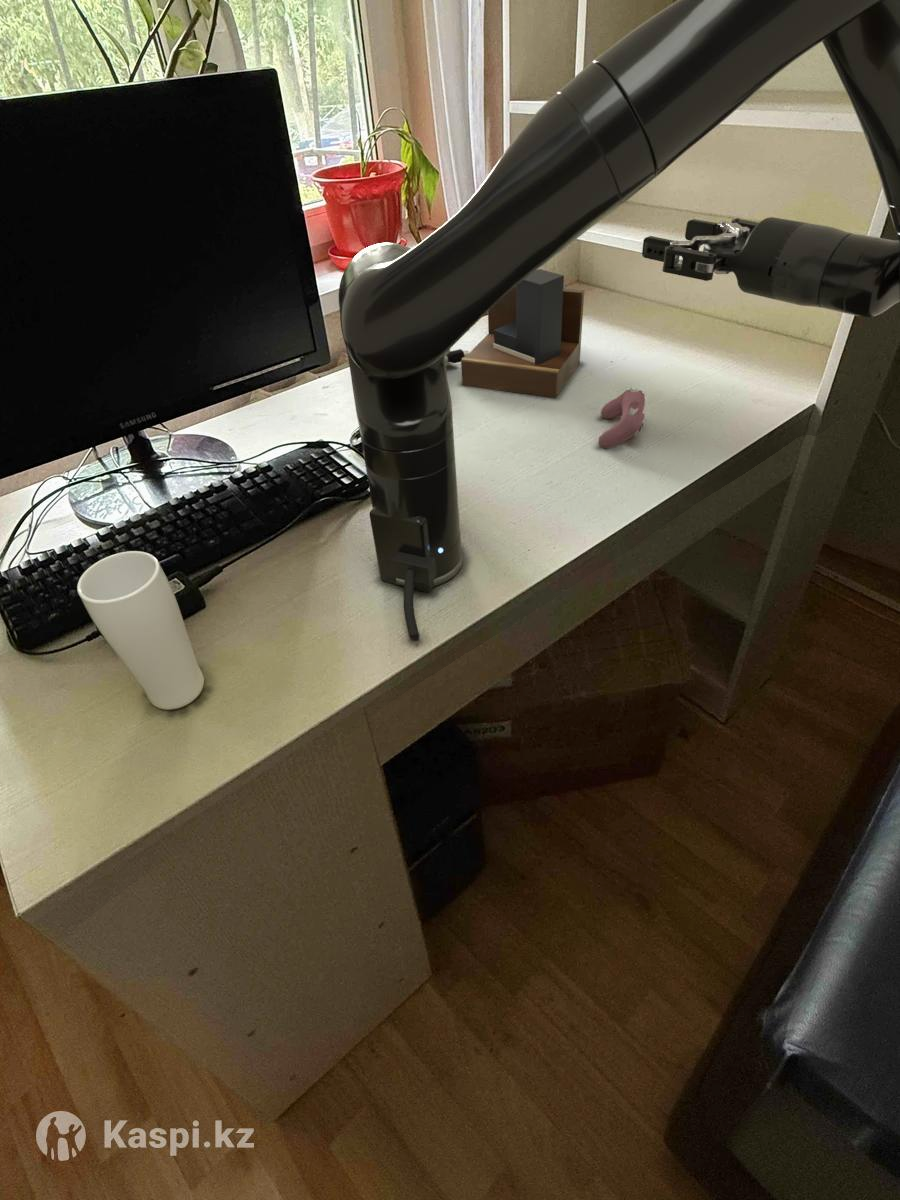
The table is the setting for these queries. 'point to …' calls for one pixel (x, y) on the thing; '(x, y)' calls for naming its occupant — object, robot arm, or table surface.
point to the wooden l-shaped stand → (519, 374)
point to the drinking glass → (143, 626)
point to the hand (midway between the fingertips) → (666, 237)
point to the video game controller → (623, 417)
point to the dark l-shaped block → (535, 319)
